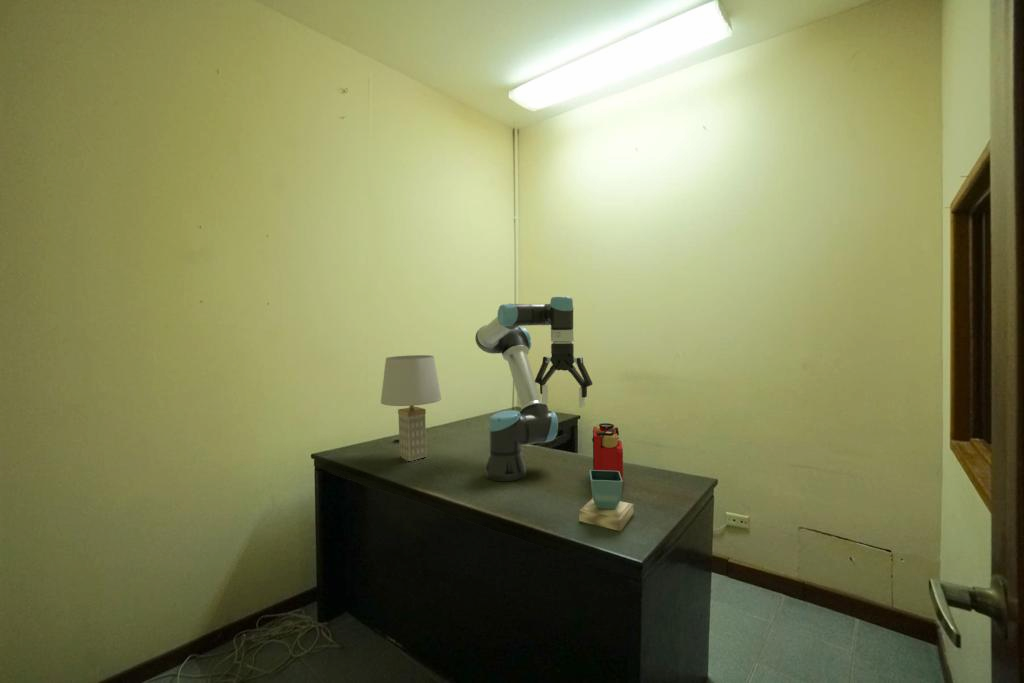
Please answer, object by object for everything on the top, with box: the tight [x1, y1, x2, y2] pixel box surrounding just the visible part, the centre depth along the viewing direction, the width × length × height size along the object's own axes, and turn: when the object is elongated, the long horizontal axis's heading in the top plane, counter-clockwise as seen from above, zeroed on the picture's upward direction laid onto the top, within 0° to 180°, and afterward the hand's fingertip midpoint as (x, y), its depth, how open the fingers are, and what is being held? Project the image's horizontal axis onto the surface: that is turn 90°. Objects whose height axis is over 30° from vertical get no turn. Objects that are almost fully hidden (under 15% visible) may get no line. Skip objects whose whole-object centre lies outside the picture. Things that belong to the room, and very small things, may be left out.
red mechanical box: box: [591, 422, 624, 481], centre depth 153 cm, size 16×10×20 cm, turn 168°
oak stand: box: [578, 497, 635, 532], centre depth 124 cm, size 12×12×3 cm
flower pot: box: [589, 469, 624, 509], centre depth 124 cm, size 9×9×9 cm
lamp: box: [380, 354, 442, 460], centre depth 183 cm, size 25×25×44 cm
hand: (563, 405), depth 145 cm, fingers open, 13 cm apart
